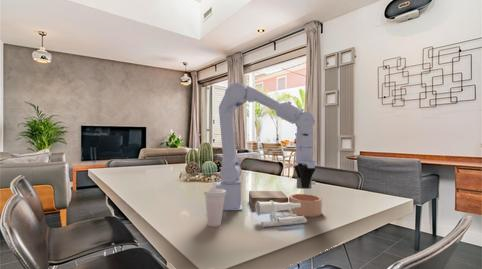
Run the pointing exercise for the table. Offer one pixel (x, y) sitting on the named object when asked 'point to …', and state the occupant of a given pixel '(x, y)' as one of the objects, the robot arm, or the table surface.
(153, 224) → the table surface
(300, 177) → the connector
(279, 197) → the board
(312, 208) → the bowl
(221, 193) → the smoothie
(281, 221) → the white joined tubes piece
